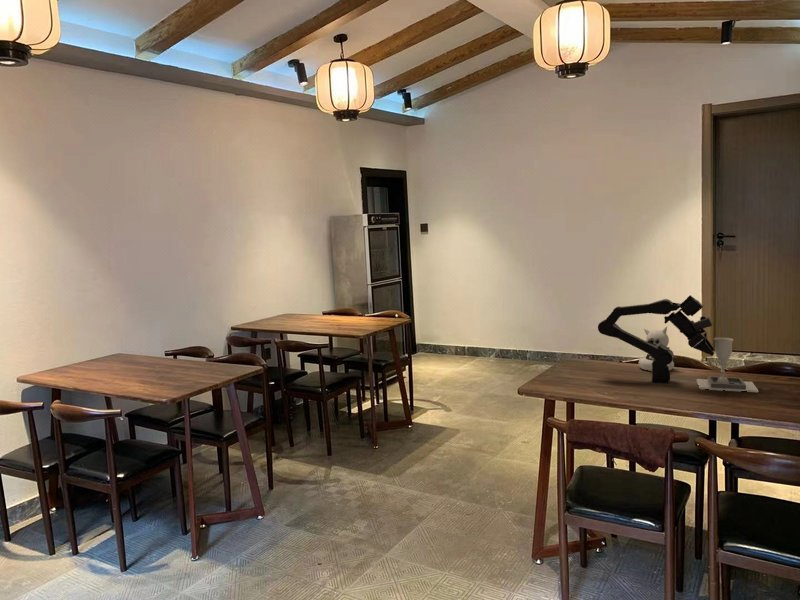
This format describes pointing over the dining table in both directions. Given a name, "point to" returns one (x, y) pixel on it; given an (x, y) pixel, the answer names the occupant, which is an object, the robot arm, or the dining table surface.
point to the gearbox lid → (734, 385)
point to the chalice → (723, 355)
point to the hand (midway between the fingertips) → (713, 352)
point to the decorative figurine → (655, 339)
